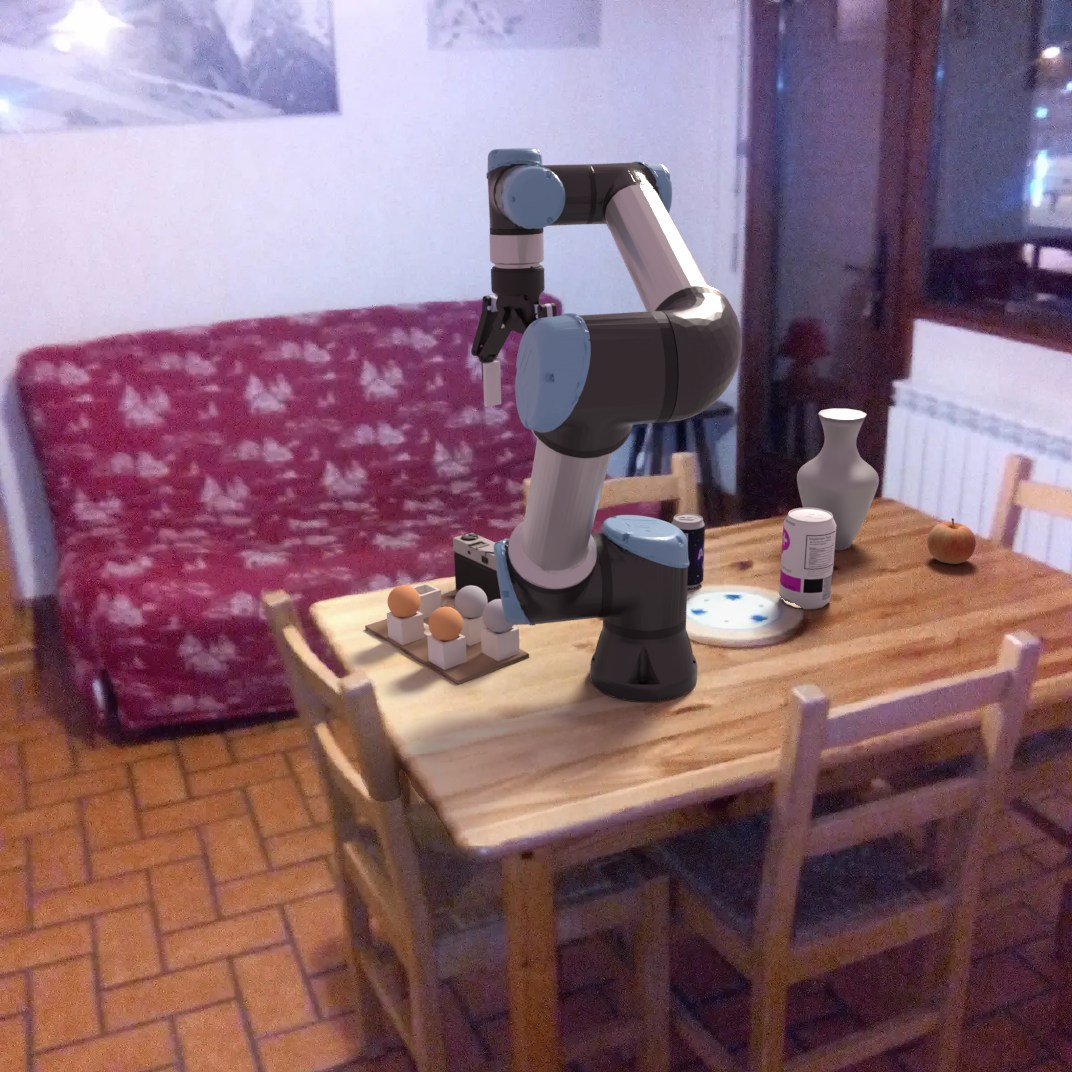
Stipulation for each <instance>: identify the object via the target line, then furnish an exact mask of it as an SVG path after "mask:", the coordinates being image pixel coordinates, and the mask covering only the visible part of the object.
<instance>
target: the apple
mask: <svg viewBox="0 0 1072 1072" xmlns="http://www.w3.org/2000/svg"><path fill="white" fill-rule="evenodd" d="M926 541H927V549H928V552H929V553H930V554H931V556H932V557H933V558H934V559H935V560H937V561H938V562H940V563H942V564H943V563H946V564H950V565H958V564H962V563H964V562H965V563H966V562H967V561H968V560H969V559H970V558H971V557H972V555H973V554H974V552H975V549H976V543H977V542H976V537H975V534H974V533H973V531H972V530H971V529H970V528H969V527H968V526H967V525H964V524H961V523H958V522H955V518H953V517H952V518H951V521H944V522H939V523H937V524H936V525H934V526H933V527H932V528H931V530H930V531H929V532H928V536H927V539H926Z"/></svg>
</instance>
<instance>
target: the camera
mask: <svg viewBox="0 0 1072 1072" xmlns="http://www.w3.org/2000/svg"><path fill="white" fill-rule="evenodd" d="M452 542H453V543H452V544H453V548H452V549H453V557H454V558H453V559H454V560H453V561H454V576H455V579H454V581H455V590H457V591H459V590H460V589H462V588H463V587H465V586H470V585H472V586H477V587H479V588H481V589H482V590H483V591H484V592H485V594H486V596H487V600H488V603H489V602H491V601H492V600H495V599H501V596H500V589H499V583H498V576H497V570H496V563H495V555H494V544H495V543H496V541H495V542H494V541H492V540H491V539H487V538H485V537H484V536H480V535H479V534H477V533H474V532H469V533H468V532H467V533H464V534H462V535H458V536H454V537H452Z"/></svg>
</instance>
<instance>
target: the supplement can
mask: <svg viewBox="0 0 1072 1072" xmlns="http://www.w3.org/2000/svg"><path fill="white" fill-rule="evenodd" d="M782 524H783V525H782V526H783V527H782V541H781V543H782V544H781V557H780V558H781V561H780V573H779V574H780V576H779V577H780V579H779V592H778V593H779V594H778V596H779V595H780V596H781V598H783V599H784V600H785V601H788V602H790V603H795V604H796V605H798V606H800V607H801V608H803V609H802V610H817V609H820V608H821V609H822V608H823V607H825V606H826V605H827V604H828V603H830V602H831V599H832V586H833V575H834V573H833V571H834V561H835V551H836V550H835V537H836V523H835V521H834V519H833V515H832V513H830V512H828V511H826V510H822V509H817V508H803V507H798V508H793V509H791V510H789V512H788V513H787V516H786V518H785V519H784V520H783V523H782ZM780 596H779V597H780ZM781 598H780V599H781Z"/></svg>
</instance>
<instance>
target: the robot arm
mask: <svg viewBox="0 0 1072 1072" xmlns="http://www.w3.org/2000/svg"><path fill="white" fill-rule="evenodd" d="M486 179H487V191H488V195H487V196H488V210H489V212H488V213H489V214H488V215H489V261H490V263H492V264H494V265H493V266H492V267H491V269H490V286H491V292H492V293H493V294H490V295H484V296H483V297H482V301H481V302H482V306H481V309H482V310H481V313H480V318H479V321H478V325H477V329H476V332H475V335H474V339H473V343H472V346H471V350H470V352H471V355H472V356H473V357H477V358H478V360H479V362H480V363H481V365H480V366H481V381H482V384H483V406H484V407H487V408H488V407H492V406H498V405H499V406H500V405H502V384H501V383H502V380H501V378H502V377H501V376H502V375H501V361H500V360H499V359H500V356H499V354H500V352H501V350H502V348H503V347H504V345H505V343H506V341H507V339H508V338H509V336H510V333H511V332H513V331H514V332H515V333H517V334H521V335H522V337H521V339H520V343H519V346H518V349H517V350H518V351H517V356H516V363H515V368H516V375H515V378H514V379H515V380H514V393H515V395H514V396H515V403H516V405H515V406H516V409H517V413H518V417H519V419H520V422H521V424H522V425H523V427H524V428H526V429H528V430H531V433H532V434H533V435H534V437H535V438H536V443H535V452H534V458H533V463H532V470H531V474H530V483H529V489H528V494H527V499H526V500H527V501H526V508H525V513H524V519H523V520H522V521H521V522H519V523H518V524H517V525H516V527H515V528H514V529H513V530H512V532H511V534H510V536H509V538H504V539H502V540H498V541H495V544H494V555H495V563H496V570H497V576H498V583H499V589H500V596H501V602H502V607H503V613H504V617H505V619H506V620H507V622H509V623H510V624H513V626H515V625H516V626H523V625H525V626H526V625H529V626H535V625H541V624H543V625H544V624H551V623H561V622H568V621H569V622H570V621H578V620H579V621H580V620H589V619H590V620H591V619H600V618H601V619H602V628H601V631H600V634H599V637H598V640H597V643H596V646H595V651H594V653H593V655H592V657H591V660H590V664H589V665H590V668H589V669H590V670H589V671H590V676H589V677H590V681H591V684H592V685H593V686H594V687H595V688H597V690H598V691H600V692H601V693H603V694H605V695H607V696H610V697H613V698H615V699H619V700H623V701H628V702H638V703H654V702H655V703H656V702H657V703H658V702H663V701H664V702H665V701H669V700H673V699H677V698H679V697H682V696H684V695H685V694H688V693H689V692H690V691H692V690H693V688H695V686H696V685H697V682H698V662H697V659H696V657H695V655H694V652H693V648H692V647H693V646H692V643H691V641H690V637H689V634H688V630H687V607H688V606H687V603H688V589H687V578H688V566H689V560H688V545H687V538H686V536H685V534H684V533H683V532H682V531H681V530H680V529H679V528H678V527H676V526H675V525H673V524H671V523H672V522H671V523H670V522H668V521H665V520H662V519H659V518H655V517H650V516H645V515H638V514H637V515H635V514H619V515H614V516H613V517H607V518H606V519H605V520H604V521H603V523H602V526H601V527H600V530H601V531H599V532H592V531H593V528H594V527H593V526H594V522H595V518H596V514H597V511H598V507H599V504H600V503H599V502H600V499H601V495H602V492H603V488H604V483H605V480H606V477H607V476H606V475H607V472H608V468H609V463H610V459H611V455H613V454H614V453H616V452H617V451H618V450H620V449H621V448H622V447H623V446H624V445H625V444H626V443H627V441H628V439H629V437H630V435H631V432H632V430H633V427H634V425H643V424H644V425H645V424H646V425H647V424H656V423H658V424H659V423H671V422H679V421H683V420H686V419H690V418H693V417H695V416H697V415H699V414H701V413H702V412H704V411H705V410H707V409H708V408H709V407H711V406H712V405H713V404H714V403H716V402H717V401H718V400H719V398H720V397H721V396H722V395H723V394H724V393H725V391H726V390H727V389H728V388H729V386H730V384H731V382H732V380H733V378H734V376H735V375H736V373H737V370H738V368H739V367H738V366H739V364H740V360H741V357H742V356H741V355H742V348H743V337H742V331H741V330H742V329H741V326H740V322H739V318H738V316H737V314H736V312H735V310H734V308H733V306H732V305H731V303H730V301H729V299H728V298H727V296H725V294H723V292H722V291H720V290H719V289H716V288H715V287H712V286H710V285H709V282H708V281H707V279H706V277H705V275H704V274H703V272H702V270H701V269H700V267H699V264H698V263H697V261H696V260H695V258H694V256H693V254H692V253H691V251H690V249H689V247H688V246H687V243H686V242H685V240H684V238H683V237H682V235H681V233H680V232H679V230H678V228H677V226H676V224H675V223H674V221H673V219H672V217H671V215H670V214H669V213H670V211H671V207H672V201H673V185H672V181H671V175H670V172H669V170H668V168H667V167H666V166H665V165H664V164H662V163H657V162H644V161H637V160H636V161H632V162H618V163H615V162H613V163H593V164H592V163H587V164H584V163H583V164H581V163H580V164H579V163H578V164H545V165H544V164H543V156H542V152H541V151H540V149H538V148H535V147H521V148H520V147H516V148H493V149H492V150H490V151H489V153H488V155H487V172H486ZM574 225H575V226H577V225H579V226H580V225H606V226H607V228H608V230H609V232H610V234H611V236H612V238H613V241H614V242H615V245H616V247H617V249H618V251H619V254H620V256H621V258H622V260H623V263H624V264H625V267H626V269H627V272H628V274H629V276H630V278H631V280H632V282H633V285H634V286H635V288H636V291H637V293H638V295H639V297H640V300H641V302H642V304H643V306H644V309H645V311H633V312H631V311H630V312H618V313H617V312H615V313H614V312H612V313H599V314H597V313H594V314H581V315H580V314H576V313H569V312H568V313H564V314H561V315H558V314H557V305H556V303H555V302H550V303H549V302H548V303H545V304H544V303H543V304H541V301H540V295H541V294H542V293H543V292H544V291H545V287H546V286H545V283H546V282H545V267H544V265H541V264H540V263H543V262H544V260H545V256H544V251H545V250H544V249H545V248H544V228H546V227H550V226H552V227H553V226H574Z"/></svg>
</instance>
